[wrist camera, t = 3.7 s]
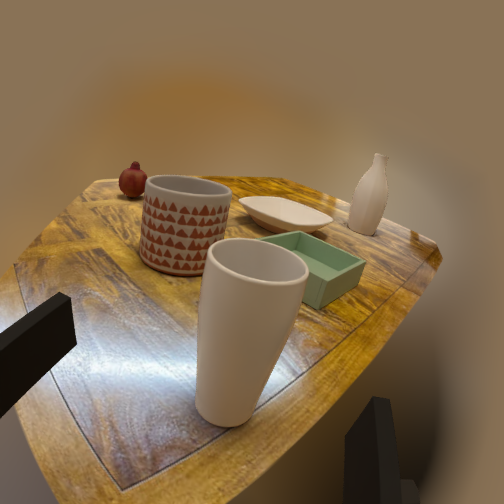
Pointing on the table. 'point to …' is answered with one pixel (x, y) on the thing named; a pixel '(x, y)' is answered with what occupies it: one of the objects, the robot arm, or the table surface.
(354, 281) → the bin
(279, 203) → the bowl
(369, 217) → the bottle
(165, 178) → the planter
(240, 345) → the white cup
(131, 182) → the fruit
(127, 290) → the table surface
